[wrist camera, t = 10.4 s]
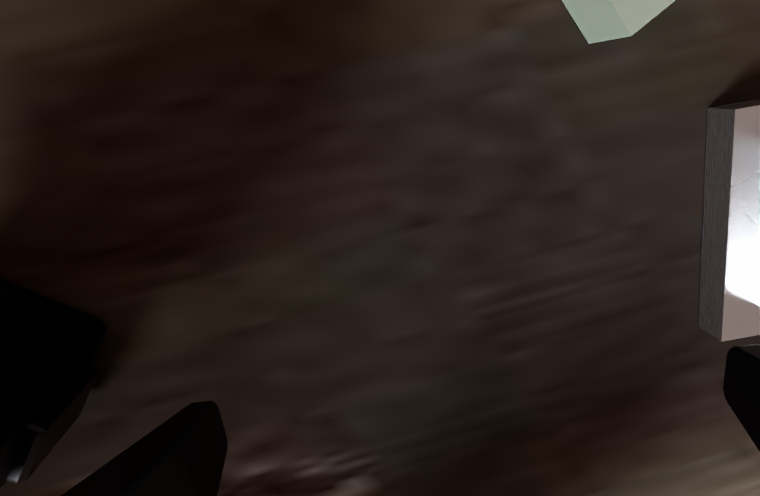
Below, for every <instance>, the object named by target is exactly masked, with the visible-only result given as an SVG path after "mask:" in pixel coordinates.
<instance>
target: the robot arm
mask: <svg viewBox="0 0 760 496" xmlns="http://www.w3.org/2000/svg"><path fill="white" fill-rule="evenodd" d="M88 327H90V328H93V329H94V330H95V332H96V334H94V333H91V332H90V331H89V330H88ZM105 333H106V327H105V324H104V323H103V322H102V321H101V320H99V319H97V318H95V317H92V316H90V315H87V314H85V313H83V312H80V311H78V310H75V309H73V308H70V307H68V306H66V305H63V304H61V303H58V302H56V301H53V300H51V299H49V298H46V297H44V296H41V295H39V294H36V293H34V292H31V291H29V290H27V289H24V288H22V287H19V286H17V285H14V284H12V283H10V282H7V281H5V280H2V279H0V488H1V486H2V485H3V484H4V483H5V482H6V481H10V482H13V483H16V484H19V483H21V482H23V481H26V480H27V479H28V478H29V477H30V476H31V474H32V473H33V472H34V471H35V469H36V468H37V467H38V466H39V465H40V463H41V462H42V461H43V460H44V458H45V457H46V456H47V455H48V454H49V452H50V451H51V450H52V449H53V447H54V446H55V445H56V444H57V443H58V441H59V440H60V439H61V438H62V436H63V435H64V434H65V433H66V432H67V430H68V429H69V428H70V427H71V425H72V424H73V423H74V422H75V421H76V419H77V418H78V417H79V415H80V413H81V411H82V409H83V406H84V404H85V402H86V399H87V397H88V395H89V392H90V390H91V387H92V385H93V383H94V380H95V378H96V376H97V372H96V369H95V368H94V367H92V364H93V362H94V359H95V357H96V354H97V352H98V350H99V347H100V345H101V343H102V340H103V338H104V335H105ZM723 390H724V395H725V398H726V400H727V402H728V404H729V406H730V407H731V409H732V410H733V412H734V413H735V415H736V416H737V418H738V419H739V421H740V422H741V424H742V425H743V427H744V428H745V430H746V431H747V433H748V434H749V436H750V437H751V439H752V441H753V442H754V444H755V445H756V447H757V448H758V450H759V451H760V345H758V344H751V345H742V346H734V347H732V348H731V349H730V350H729V351H728V353H727V359H726V367H725V376H724V385H723ZM226 453H227V436H226V433H225V429H224V426H223V422H222V419H221V415H220V412H219V408H218V406H217V404H216V403H215V402H213V401H204V402H194V403H191V404H189V405H188V406H186V407H185V408H184V409H182V410H181V411H179V412H178V413H177V414H175V415H174V416H172V417H171V418H170V419H168V420H167V421H165V422H164V423H163V424H161V425H160V426H158V427H157V428H156V429H154V430H153V431H151V432H150V433H149V434H147V435H146V436H144V437H143V438H141V439H140V440H139V441H137V442H136V443H134V444H133V445H132V446H130V447H129V448H127V449H126V450H125V451H123V452H122V453H120V454H119V455H118V456H116V457H115V458H113V459H112V460H111V461H109V462H108V463H106V464H105V465H104V466H102V467H101V468H99V469H98V470H97V471H95V472H94V473H92V474H91V475H90V476H88V477H87V478H85V479H84V480H83V481H81V482H80V483H78V484H77V485H76V486H74V487H73V488H71V489H70V490H69V491H67V492H66V493H64V494H63V495H61V496H217V494H218V489H219V485H220V480H221V476H222V471H223V467H224V462H225V458H226Z"/></svg>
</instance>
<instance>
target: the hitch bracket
mask: <svg viewBox="0 0 760 496" xmlns="http://www.w3.org/2000/svg"><path fill="white" fill-rule="evenodd" d="M699 327H701V328H702V329H704V330H705V331H707V332H708V333H710V334H711V335H713V336H714V337H715V338H717V339H718V340H720V341H721V342H722V341H728V340H733V339H739V338H744V337H750V336H755V335H760V99H755V100H749V101H744V102H738V103H732V104H727V105H721V106H716V107H710V108H708V113H707V137H706V161H705V185H704V209H703V232H702V256H701V280H700V304H699Z"/></svg>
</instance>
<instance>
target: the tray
mask: <svg viewBox="0 0 760 496" xmlns="http://www.w3.org/2000/svg"><path fill="white" fill-rule="evenodd" d="M674 1H675V0H562V2H563V3H564V5H565V6H566V8H567V10H568V11H569V13H570V14H571V16H572V18H573V19H574V21H575V22H576V24H577V26H578V27H579V29H580V31H581V32H582V34H583V35H584V37H585V39H586V40H587V42H588V43H589V44H590V43H596V42H602V41H607V40H613V39H618V38H624V37H629V36H632V35H633V34H635V33H636V32H637V31H638V30H639V29H641V28H642V27H643V26H644V25H646V24H647V23H648V22H649V21H651V20H652V19H653V18H654V17H656V16H657V15H658V14H659V13H660V12H662V11H663V10H664V9H665V8H667V7H668V6H669V5H670V4H672V3H673V2H674Z"/></svg>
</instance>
